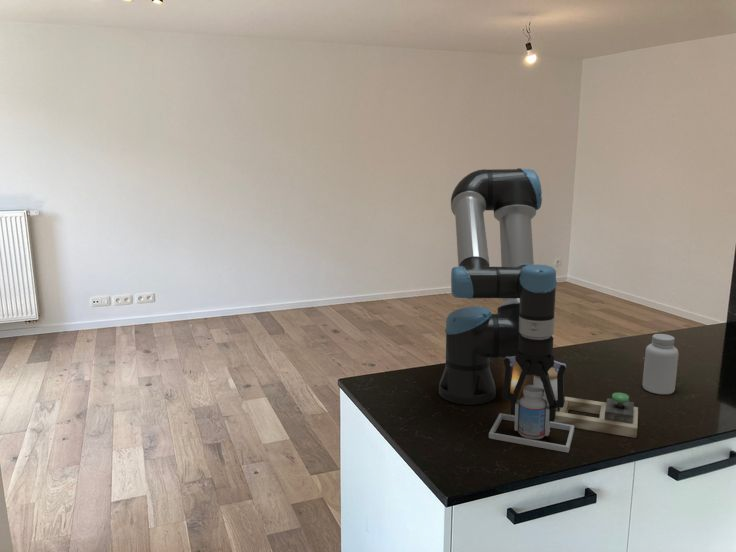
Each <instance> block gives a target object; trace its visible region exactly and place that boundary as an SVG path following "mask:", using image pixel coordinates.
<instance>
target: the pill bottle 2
mask: <svg viewBox="0 0 736 552" xmlns="http://www.w3.org/2000/svg"><path fill="white" fill-rule="evenodd" d="M651 337H652V338H651V343H650V344H648V345H647V346H646V347H645V354H644V364H643V375H642V387H643V389H644V390H646V391H647V392H649V393H652V394H657V395H671V394H673V393H674V392H675V390H676V383H677V382H676V381H677V372H678V362H679V350H678V348H677V347H676V346H675V339H676V338H675V337H674V336H673V335H670V334H666V333H654V334H653V335H652V336H651Z"/></svg>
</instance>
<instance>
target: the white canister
mask: <svg viewBox="0 0 736 552" xmlns="http://www.w3.org/2000/svg"><path fill="white" fill-rule="evenodd" d="M548 374H549V379H550V383H551V386H552V389H553V393H554V396H555V400H558V393H557V374H558V372H556V371H555V367H554V366H552V367H551V368H550V369H549V370H548ZM533 385H537V386H540V387H542V388H544V387H543V383H542V381H541V379H540V376H536V375H533ZM543 397H544V398H545V399H546V401H547V405H548V400H547V397H546V394H545V390H544V396H543ZM558 410H559V408H556V411H557V412H559V411H558Z"/></svg>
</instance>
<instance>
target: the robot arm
mask: <svg viewBox="0 0 736 552" xmlns="http://www.w3.org/2000/svg"><path fill="white" fill-rule="evenodd" d="M542 194H543V192H542V185H541V181H540V177H539V175H538V173H537V172H536V171H535V170H533V169H530V168H528V169H527V168H521V167H519V168H513V169H511V168H506V169H501V168H500V169H499V168H498V169H495V168H493V169H485V168H484V169H478V170H475V171H472V172H470V173H469V174H467V175H466V176H464V177H463V178H462V179H461V180H460V181H459V182H458V183H457V185H456V186H455V188H454V189H453V191H452V193H451V198H450V209H451V213H452V214H453V215H454V216H455V231H456V232H455V233H456V248H457V249H456V251H457V263H458V264H457V266H454V267H452V268H451V272H450V274H451V275H450V284H451V285H450V286H451V287H450V289H451V295H452V297H454V298H458V299H470V300H471V299H502V303H500V304H499V305H498V307H497V313H492V311H491V309H490V308H488V307H485V306H467V307H461V308H458V309H455V310H454V311H451V312H450V313H449V314H448V315H447V317H446V321H445V330H444V331H445V338H446V339H445V367H444V370H443V373H442V375H441V378H440V381H439V383H438V394H439V396H440V397H441V398H442V399H444V400H446V401H448V402H450V403H453V404H458V405H467V406H473V405H475V406H476V405H483V404H486V403H489V402H491V401H492V400H494V399H495V398H496V396H497V395H496V392H497V390H496V384H495V379H494V378H493V374H492V373H493V372H492V371H491V367H490V365H491V364H490V361H491V360H490V359H504V360H503V363H504V369H505V371H504V379H503V391H502V399H504V400H508V401H509V402H510V415H514V416H515V422H514V427H513V428H514V431H516V432H519V403H520V399H518V398H519V395H520V393H521V390H522V389H523V387H524V386H523V385H524V383H525V381H526V378H527V377H528V376H534V375H536V376H540V379H541V381H542V383H543V387H544V390H545V394H546V397H547V400H548V405H547V407H546V418H545V436H544V437H548V436H549V435H550V432H551V428H550V421H552V422H554V420H555V417H556V408H558V407H560V408H562V407H563V406H564V403H565V397H566V396H565V390H566V389H565V371H566V368H567V363H566V362H564V361H562V362H560V361H557V360H556V359H555V357H554V337H553V335H554V333H555V312H556V311H555V306H556V290H557V283H558V282H557V271H556V269H555V268H554V267H553V266H550V265H547V264H534V263H535V262H534V249H533V248H534V247H533V245H534V244H533V233H532V232H533V230H532V229H533V228H532V219H533V218H535V216H536V215H537V211H538V210H540V209H541V207H542V201H543V197H542ZM486 211H492V212H493V217H494V219H496V220H497V221H498V222H499V234H500V235H499V237H500V260H501V266H490V258H489V249H488V240H487V233H486V225H485V217H484V212H486ZM516 364H518V366H519V367H520V369H521V372H520V375H519V377H518V380H517V382H516V384H515V387H514V390H513V392H511V389H512V388H511V386H512V380H513V379H512V378H513V370H514V369H513V368H514V366H515V365H516ZM551 367H553V368H555V371H556V372H558V374H557V393H558V400H555V396H554V393H553V389H552V386H551V383H550V379H549V374H548V370H549V369H550V368H551ZM560 408H558V409H560Z"/></svg>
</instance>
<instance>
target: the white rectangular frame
mask: <svg viewBox="0 0 736 552" xmlns="http://www.w3.org/2000/svg"><path fill="white" fill-rule="evenodd" d="M502 420H504V421H510V422H514V423H515V416H514V415H511V414H507V413H501V412H500V413H498V416H497V418H496V419H495V422H494V423H493V425H492V427H491V428H490V430H489V432H488V439H492V440H497V441H503V442H506V443H507V442H508V443H513V444H519V445H525V446H529V447H530V446H531V447H536V448H541V449H542V448H543V449H546V450H553V451H557V452H563V453H569V452H570V448H571V444H572V442H573V441H572V440H573V436H574V433H575V428H574V425H569V424H563V423H557V422H550V429H551V428H552V429H556V430H557V429H558V430H562V431H568V432H569V433H568V436H567V439H566V440H567V441H566V443H565V445H564V444H559V443H553V442H547V441H544V440H543V441H542V440H538V439H528V438H525V437H518V436H516V435H515V436H514V435H509V434H508V435H507V434H503V433H497V429H498V428H499V426H500V424H501V422H502Z"/></svg>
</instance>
